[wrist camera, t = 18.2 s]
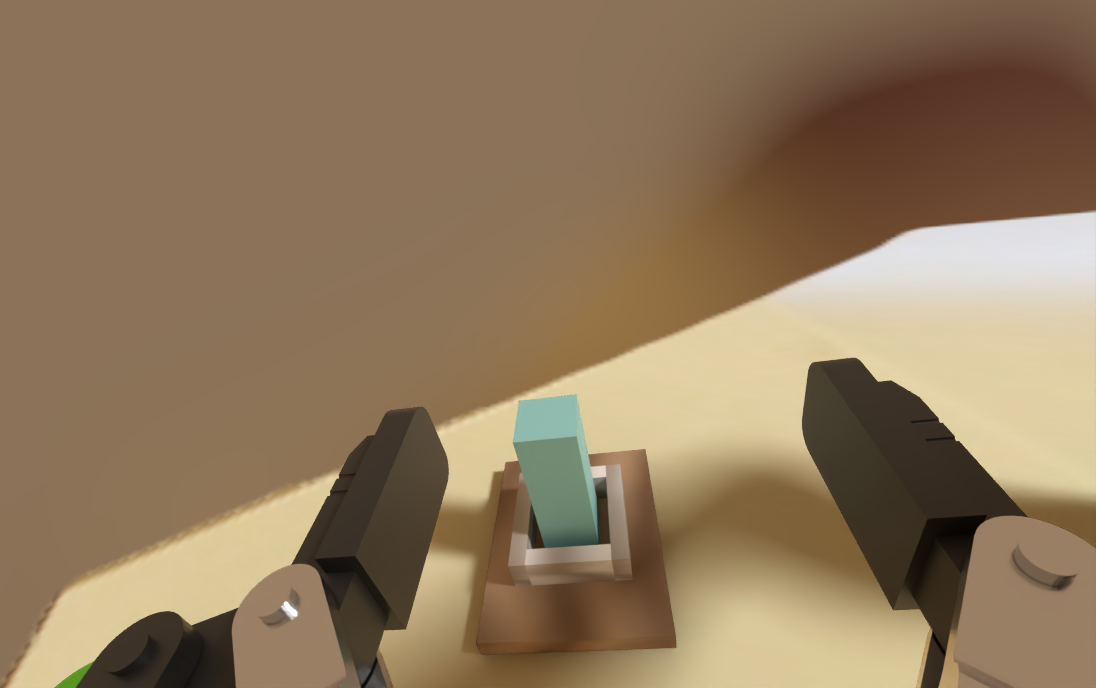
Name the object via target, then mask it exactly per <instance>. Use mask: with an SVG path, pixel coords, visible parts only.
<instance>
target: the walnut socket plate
mask: <svg viewBox="0 0 1096 688" xmlns="http://www.w3.org/2000/svg"><path fill="white" fill-rule="evenodd" d="M588 456H589V461H590V466H591V471H592V477H593V482H594V487H595V492H596V497H597V502H598V508H599V525H600V545H587V546H572V547H557V548H545V546H544V542H543V539H542V536H541V533H540V529H539V526H538V523H537V519H536V516H535V513H534V510H533V506H532V503H531V500H530V497H529V493H528V490H527V487H526V484H525V480H524V477H523V474H522V470H521V467H520V464H519V461H514V462H506V463H505V469H504V475H503V481H502V488H501V494H500V500H499V506H498V512H497V518H496V524H495V531H494V537H493V543H492V549H491V555H490V561H489V567H488V573H487V580H486V586H485V592H484V598H483V604H482V610H481V616H480V623H479V629H478V635H477V641H476V644H477V646H478V648H479V650H480V652H481V654H509V653H537V652H565V651H593V650H621V649H649V648H676V636H675V629H674V623H673V617H672V611H671V605H670V599H669V592H668V586H667V580H666V574H665V568H664V561H663V555H662V549H661V543H660V537H659V530H658V524H657V518H656V512H655V506H654V500H653V493H652V487H651V481H650V475H649V469H648V462H647V456H646V450H645V449H643V450H632V451H621V452H610V453H600V454H589V455H588Z"/></svg>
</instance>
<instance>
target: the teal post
mask: <svg viewBox="0 0 1096 688" xmlns="http://www.w3.org/2000/svg"><path fill="white" fill-rule="evenodd" d="M513 444H514V448H515V451H516V454H517V457H518V461H519V464H520V467H521V470H522V474H523V477H524V480H525V484H526V487H527V490H528V493H529V497H530V500H531V503H532V506H533V510H534V513H535V516H536V519H537V523H538V526H539V529H540V533H541V536H542V539H543V542H544V546H545V548H557V547H572V546H587V545H600V525H599V508H598V502H597V497H596V492H595V487H594V482H593V477H592V471H591V466H590V461H589V456H588V451H587V446H586V441H585V435H584V430H583V425H582V420H581V415H580V410H579V405H578V399H577V395H568V396H559V397H550V398H541V399H532V400H524V401H519V406H518V412H517V419H516V426H515V432H514V439H513Z"/></svg>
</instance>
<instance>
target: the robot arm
mask: <svg viewBox="0 0 1096 688" xmlns="http://www.w3.org/2000/svg"><path fill="white" fill-rule="evenodd" d="M802 430H803V436H804V440H805V443H806V446H807V449H808V451H809V453H810V455H811V457H812V459H813V460H814V462H815V464H816V466H817V468H818V470H819V472H820V474H821V475H822V477H823V479H824V481H825V483H826V485H827V487H828V489H829V490H830V492H831V494H832V496H833V498H834V500H835V502H836V504H837V505H838V507H839V509H840V511H841V513H842V515H843V517H844V519H845V520H846V522H847V524H848V526H849V528H850V530H851V532H852V534H853V536H854V537H855V539H856V541H857V543H858V545H859V547H860V549H861V551H862V552H863V554H864V556H865V558H866V560H867V562H868V564H869V566H870V567H871V569H872V571H873V573H874V575H875V577H876V579H877V581H878V582H879V584H880V586H881V588H882V590H883V592H884V594H885V596H886V597H887V599H888V601H889V603H890V605H891V607H892V609H893V610H909V609H920V610H921V611H922V613H923V615H924V617H925V618H926V620H927V622H928V624H929V625H930V627H931V628H930V630H929V632H928V635H927V639H926V644H925V648H924V653H923V657H922V662H921V667H920V671H919V676H918V680H917V685H916V688H1096V548H1094V547H1093V546H1092V545H1090V544H1089V543H1087V542H1086V541H1085V540H1083V539H1081V538H1080V537H1078V536H1076V535H1074V534H1073V533H1071V532H1069V531H1067V530H1065V529H1062V528H1060V527H1058V526H1055V525H1053V524H1050V523H1048V522H1044V521H1041V520H1037V519H1033V518H1029V517H1028V516H1027V515H1026V514H1025V513H1024V512H1023V511H1022V510H1021V509H1020V508H1019V507H1018V506H1017V505H1016V504H1015V503H1014V501H1013V500H1012V499H1011V498H1010V497H1009V496H1008V495H1007V494H1006V493H1005V491H1004V490H1003V489H1002V488H1001V487H1000V486H999V485H998V484H997V483H996V481H995V480H994V479H993V478H992V477H991V476H990V475H989V474H988V473H987V472H986V470H985V469H984V468H983V467H982V466H981V465H980V464H979V463H978V462H977V460H976V459H975V458H974V457H973V456H972V455H971V454H970V453H969V452H968V450H967V449H966V448H965V447H964V446H963V445H962V444H961V443H960V442H959V441H956V440H955V436H954V435H953V434H952V433H951V432H950V430H949V429H948V428H947V427H946V426H945V425H944V424H943V423H940V422H939V418H938V417H937V416H936V415H935V414H934V413H933V412H932V411H931V409H930V408H929V407H928V406H927V405H926V404H925V403H924V402H923V401H922V399H921V398H920V397H918V396H917V395H915V394H913V393H911V392H910V391H908V390H906V389H905V388H903V387H901V386H900V385H898V384H896V383H895V382H893V381H882V382H877V380H876V379H875V378H874V377H873V375H872V374H871V373H870V372H869V371H868V369H867V368H866V367H865V366H864V365H863V363H862V362H861V361H860V360H858V359H857V358H846V359H838V360H829V361H820V362H813V363H812V364H811V365H810V367H809V370H808V377H807V385H806V393H805V401H804V408H803V416H802ZM448 474H449V468H448V460H447V456H446V453H445V451H444V448H443V446H442V444H441V441H440V439H439V437H438V435H437V432H436V430H435V428H434V425H433V423H432V421H431V418H430V416H429V414H428V412H427V410H426V409H425V408H423V407H414V408H406V409H397V410H390V411H388V412H387V413H386V414H385V416H384V418H383V419H382V421H381V423H380V426H379V428H378V430H377V432H376V434H375V435H373V436H367V437H366V438H365V439H364V440H363V441H362V442H361V443H360V444H359V445H358V446H357V447H356V448H355V449H354V450H353V452H351V454H350V455H349V456H348V458H347V460H346V462H345V464H344V466H343V468H342V470H341V472H340V474H339V479H336V481H335V483H334V485H333V487H332V489H331V491H330V496H327V498H326V500H325V502H324V504H323V506H322V508H321V510H320V512H319V514H318V515H317V517H316V519H315V521H314V523H313V525H312V527H311V529H310V531H309V533H308V534H307V536H306V538H305V540H304V542H303V544H302V546H301V548H300V550H299V552H298V554H297V555H296V557H295V559H294V561H293V563H292V564H291V565H290V566H286V567H284V568H281V569H279V570H277V571H275V572H273V573H272V574H270V575H269V576H267V577H266V578H264V579H263V580H262V581H261V582H259V583H258V584H257V585H256V586H255V587H254V588H253V589H252V590H251V591H250V592H249V594H248V595H247V596H246V597H245V599H244V600H243V601H242V603H241V604H240V606H239V608H237V609H234V610H231V611H229V612H226V613H223V614H221V615H218V616H215V617H213V618H210V619H207V620H205V621H202V622H199V623H197V624H194V625H192V626H191V625H190V624H189V623H188V622H186V621H185V620H184V619H183V618H182V617H181V616H180V615H178V614H176V613H175V612H170V611H165V612H159V613H155V614H152V615H149V616H147V617H145V618H143V619H141V620H139V621H138V622H136V623H134V624H133V625H131V626H130V627H128V628H127V629H125V630H124V631H123V632H122V633H120V634H119V635H118V636H117V637H116V638H115V639H114V640H113V641H111V642H110V643H109V644H108V645H107V647H106V648H105V649H104V650H103V651H102V652H101V653H100V655H99V656H98V657H97V658H96V660H95V661H94V662H93V664H92V665H91V667H90V668H89V669H88V671H87V672H86V674H85V675H84V677H83V678H82V679H81V681H80V682H79V684H78V685H77V686H76V688H393V685H392V682H391V679H390V677H389V674H388V671H387V668H386V665H385V662H384V659H383V656H382V654H381V652H380V650H379V649H378V648H379V645H380V641H381V638H382V635H383V632H384V630H402V629H406V627H407V624H408V620H409V617H410V613H411V610H412V606H413V602H414V599H415V595H416V592H417V588H418V585H419V581H420V578H421V574H422V571H423V567H424V564H425V560H426V556H427V553H428V549H429V546H430V542H431V539H432V535H433V532H434V528H435V525H436V521H437V518H438V514H439V510H440V507H441V503H442V500H443V496H444V493H445V489H446V486H447V482H448Z"/></svg>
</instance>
